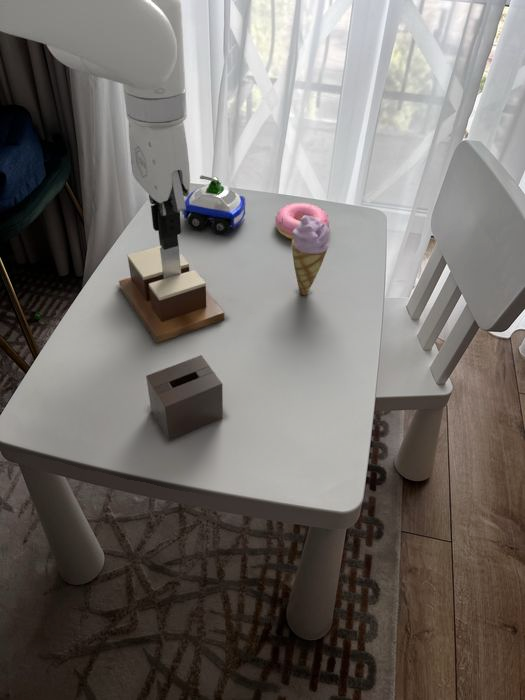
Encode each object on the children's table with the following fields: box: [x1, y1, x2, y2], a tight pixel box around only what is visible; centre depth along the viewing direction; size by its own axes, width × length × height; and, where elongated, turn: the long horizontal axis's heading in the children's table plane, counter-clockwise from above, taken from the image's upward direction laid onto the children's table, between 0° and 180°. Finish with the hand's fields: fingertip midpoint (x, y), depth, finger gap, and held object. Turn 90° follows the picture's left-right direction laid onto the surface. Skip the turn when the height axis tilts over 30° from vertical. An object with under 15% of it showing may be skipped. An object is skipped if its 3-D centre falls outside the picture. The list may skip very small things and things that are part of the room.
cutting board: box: [118, 276, 225, 344], centre depth 90 cm, size 12×16×2 cm
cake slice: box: [149, 269, 207, 322], centre depth 86 cm, size 8×4×5 cm, turn 121°
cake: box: [126, 245, 190, 301], centre depth 90 cm, size 8×7×5 cm
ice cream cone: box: [291, 215, 331, 296], centre depth 89 cm, size 7×6×15 cm
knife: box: [155, 199, 181, 279], centre depth 82 cm, size 3×2×18 cm, turn 122°
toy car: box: [181, 174, 246, 236], centre depth 107 cm, size 9×12×10 cm
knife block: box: [145, 354, 224, 442], centre depth 71 cm, size 8×6×7 cm
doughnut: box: [274, 202, 331, 241], centre depth 108 cm, size 11×11×4 cm
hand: (167, 231), depth 79 cm, fingers closed on knife, 1 cm apart
